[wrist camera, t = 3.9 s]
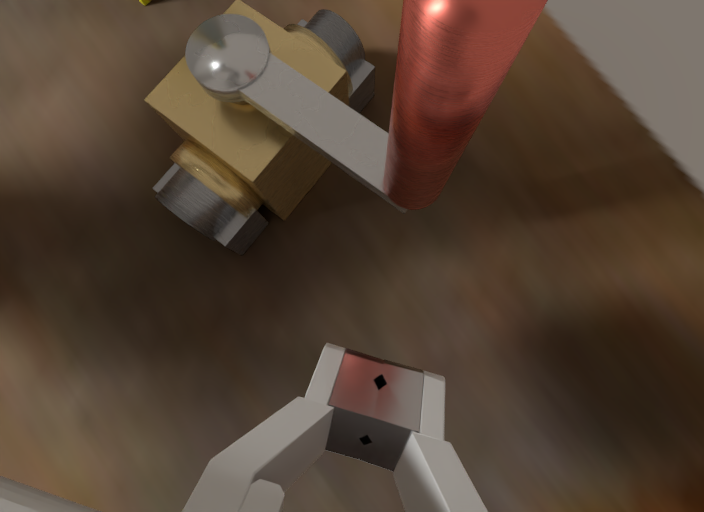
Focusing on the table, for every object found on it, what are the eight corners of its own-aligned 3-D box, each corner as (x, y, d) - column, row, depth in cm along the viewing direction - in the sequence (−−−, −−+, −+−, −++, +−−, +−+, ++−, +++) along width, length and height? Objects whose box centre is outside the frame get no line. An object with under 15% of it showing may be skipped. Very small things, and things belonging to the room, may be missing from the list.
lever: (180, 74, 19) (-67, -255, 8) (231, 19, 19) (61, -361, 9) (407, 238, 17) (478, 89, 6) (457, 172, 17) (606, -75, 7)
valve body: (248, 264, 26) (191, 235, 18) (167, 200, 27) (76, 143, 19) (384, 98, 28) (391, 1, 20) (302, 45, 29) (276, -70, 21)
